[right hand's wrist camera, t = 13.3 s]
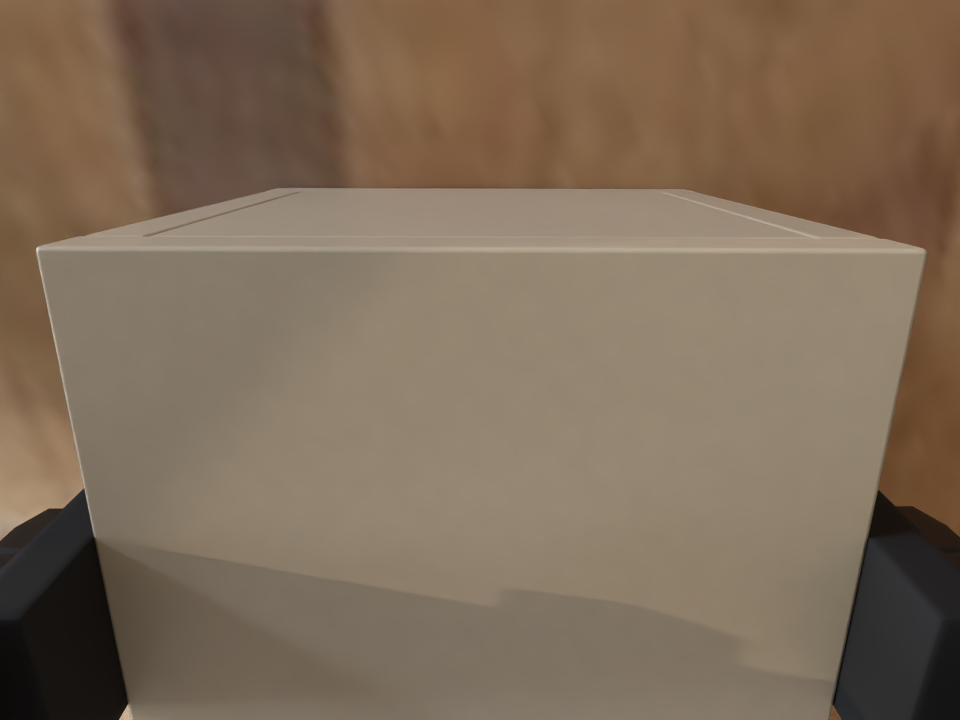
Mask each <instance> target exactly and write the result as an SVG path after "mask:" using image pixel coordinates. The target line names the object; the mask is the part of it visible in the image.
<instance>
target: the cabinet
mask: <svg viewBox="0 0 960 720" xmlns="http://www.w3.org/2000/svg"><path fill="white" fill-rule="evenodd" d="M36 254H37V259H38V264H39V269H40V274H41V279H42V284H43V288H44V293H45V298H46V303H47V308H48V313H49V318H50V323H51V328H52V333H53V338H54V342H55V347H56V352H57V357H58V362H59V367H60V372H61V377H62V382H63V387H64V392H65V396H66V401H67V406H68V411H69V416H70V421H71V426H72V431H73V436H74V441H75V445H76V450H77V455H78V460H79V465H80V470H81V475H82V480H83V485H84V490H85V495H86V499H87V504H88V509H89V514H90V519H91V524H92V529H93V534H94V539H95V544H96V548H97V553H98V558H99V563H100V568H101V573H102V578H103V583H104V588H105V593H106V598H107V602H108V607H109V612H110V617H111V622H112V627H113V632H114V637H115V642H116V647H117V651H118V656H119V661H120V666H121V671H122V676H123V681H124V686H125V691H126V696H127V701H128V705H129V710H130V715H131V720H829V719H830V715H831V710H832V705H833V700H834V696H835V691H836V686H837V681H838V677H839V672H840V667H841V662H842V658H843V653H844V648H845V644H846V639H847V634H848V629H849V625H850V620H851V615H852V610H853V606H854V601H855V596H856V591H857V587H858V582H859V577H860V572H861V568H862V563H863V558H864V553H865V549H866V544H867V539H868V534H869V530H870V525H871V520H872V515H873V511H874V506H875V501H876V497H877V492H878V487H879V482H880V478H881V473H882V468H883V463H884V459H885V454H886V449H887V444H888V440H889V435H890V430H891V425H892V421H893V416H894V411H895V406H896V402H897V397H898V392H899V387H900V383H901V378H902V373H903V369H904V364H905V359H906V354H907V350H908V345H909V340H910V335H911V331H912V326H913V321H914V316H915V312H916V307H917V302H918V297H919V293H920V288H921V283H922V278H923V274H924V269H925V264H926V259H927V251H926V250H925V249H923V248H920V247H916V246H912V245H908V244H904V243H900V242H896V241H892V240H888V239H879V238H877V237H874V236H870V235H866V234H861V233H857V232H853V231H849V230H845V229H841V228H837V227H833V226H829V225H825V224H821V223H817V222H813V221H809V220H805V219H801V218H797V217H793V216H789V215H785V214H781V213H777V212H773V211H769V210H765V209H761V208H757V207H753V206H749V205H745V204H741V203H737V202H733V201H729V200H725V199H721V198H717V197H713V196H709V195H705V194H701V193H697V192H694V191H691V190H686V189H448V188H277V189H272V190H269V191H266V192H262V193H258V194H254V195H250V196H245V197H241V198H237V199H233V200H229V201H225V202H221V203H217V204H212V205H208V206H204V207H200V208H196V209H192V210H188V211H184V212H180V213H175V214H171V215H167V216H163V217H159V218H155V219H151V220H147V221H143V222H138V223H134V224H130V225H126V226H122V227H118V228H114V229H110V230H105V231H101V232H97V233H93V234H89V235H87V236H78V237H74V238H70V239H66V240H62V241H57V242H53V243H49V244H45V245H41V246H39V247H37V249H36Z"/></svg>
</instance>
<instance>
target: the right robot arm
mask: <svg viewBox="0 0 960 720" xmlns="http://www.w3.org/2000/svg"><path fill="white" fill-rule="evenodd" d="M127 705H128V701H127V696H126V691H125V686H124V681H123V676H122V671H121V666H120V661H119V656H118V651H117V647H116V642H115V637H114V632H113V627H112V622H111V617H110V612H109V607H108V602H107V598H106V593H105V588H104V583H103V578H102V573H101V568H100V563H99V558H98V553H97V548H96V544H95V539H94V534H93V529H92V524H91V519H90V514H89V509H88V504H87V499H86V495H85V490H84V489H83V490H82V491H81V492H80V493H79V494H78V495H77V496H76V497H75V498H74V499H73V500H72V501H71V502H69V503H68V504H67V505H66V506H65V507H64V508H63V509H47V510H46V511H44V512H42V513H40V514H38V515H37V516H35V517H33V518H31V519H30V520H28V521H26V522H24V523H23V524H21V525H19V526H17V527H15V528H14V529H13V530H12V531H11V532H10V533H9V534H8V535H7V536H5V537H4V538H3V539H2V540H1V541H0V720H119V718H120V717H121V715H122V713H123V712H124V710H125V708H126V706H127ZM833 705H834V707H835V709H836V710H837V712H838V714H839V715H840V717H841V719H842V720H960V537H959V536H958V535H956V534H955V533H954V532H953V531H952V530H951V529H950V528H949V527H948V526H946V525H945V524H943V523H941V522H939V521H938V520H936V519H934V518H932V517H930V516H929V515H927V514H925V513H923V512H922V511H920V510H918V509H916V508H914V507H913V506H894V505H893V504H892V503H891V502H890V501H889V500H888V499H887V498H886V497H885V496H884V495H883V494H882V493H881V492H880V491H879V490H878V492H877V497H876V501H875V506H874V511H873V515H872V520H871V525H870V530H869V534H868V539H867V544H866V549H865V553H864V558H863V563H862V568H861V572H860V577H859V582H858V587H857V591H856V596H855V601H854V606H853V610H852V615H851V620H850V625H849V629H848V634H847V639H846V644H845V648H844V653H843V658H842V662H841V667H840V672H839V677H838V681H837V686H836V691H835V696H834V700H833Z"/></svg>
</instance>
